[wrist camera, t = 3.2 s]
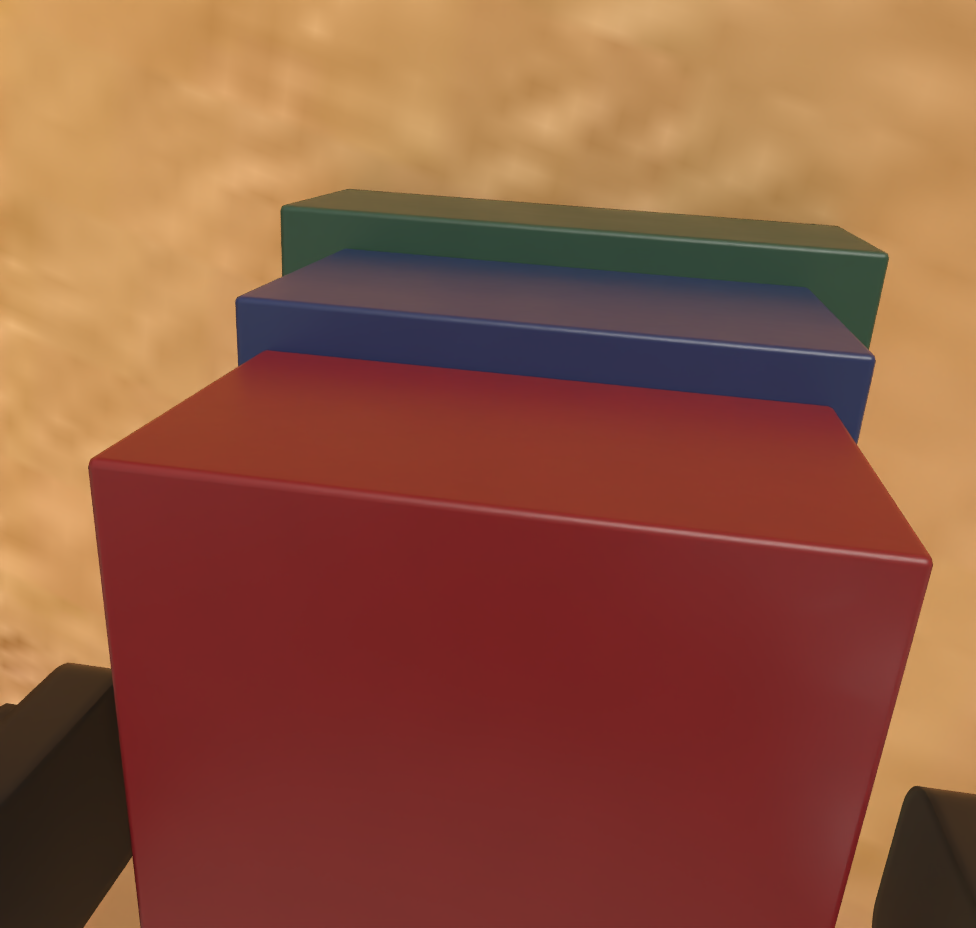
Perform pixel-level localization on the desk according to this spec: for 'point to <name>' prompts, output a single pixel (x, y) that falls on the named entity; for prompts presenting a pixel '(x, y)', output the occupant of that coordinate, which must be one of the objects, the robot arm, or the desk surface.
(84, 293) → the desk surface
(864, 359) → the navy book
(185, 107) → the desk surface
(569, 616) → the burgundy paperback
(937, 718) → the desk surface
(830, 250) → the green hardback
